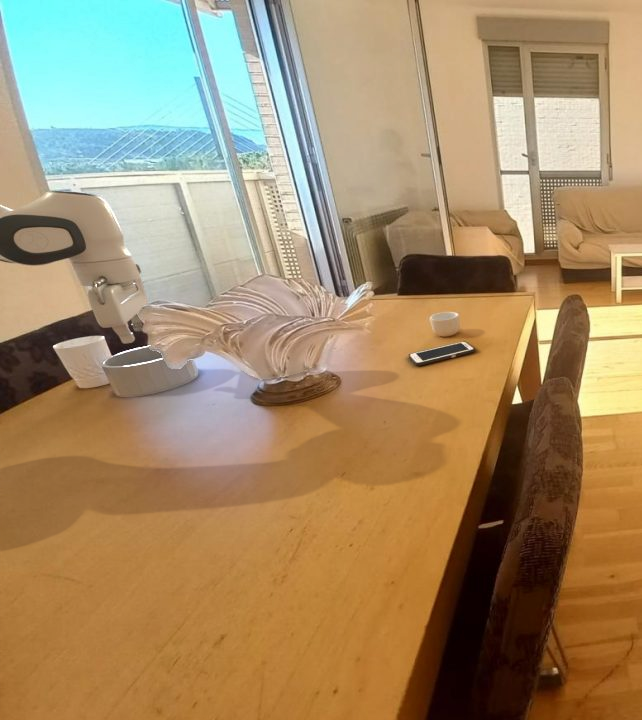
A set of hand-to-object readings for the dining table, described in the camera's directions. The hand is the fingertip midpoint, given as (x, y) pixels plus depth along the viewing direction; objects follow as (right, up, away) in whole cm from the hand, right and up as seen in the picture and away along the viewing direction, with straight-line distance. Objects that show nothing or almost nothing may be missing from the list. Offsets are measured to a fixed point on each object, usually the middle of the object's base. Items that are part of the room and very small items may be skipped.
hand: (135, 336), depth 103 cm
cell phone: (+61, -4, +16) cm, 63 cm away
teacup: (+56, +2, +31) cm, 65 cm away
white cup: (-14, -11, +6) cm, 18 cm away
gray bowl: (+1, -10, +5) cm, 11 cm away
